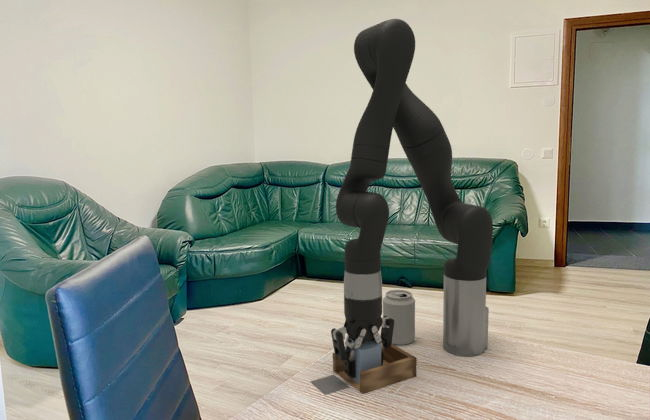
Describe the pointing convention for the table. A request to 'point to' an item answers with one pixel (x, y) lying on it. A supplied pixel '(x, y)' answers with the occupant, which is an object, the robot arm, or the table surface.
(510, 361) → the table surface
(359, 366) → the block
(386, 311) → the can
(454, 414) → the table surface
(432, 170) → the robot arm
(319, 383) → the coaster
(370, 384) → the crate
